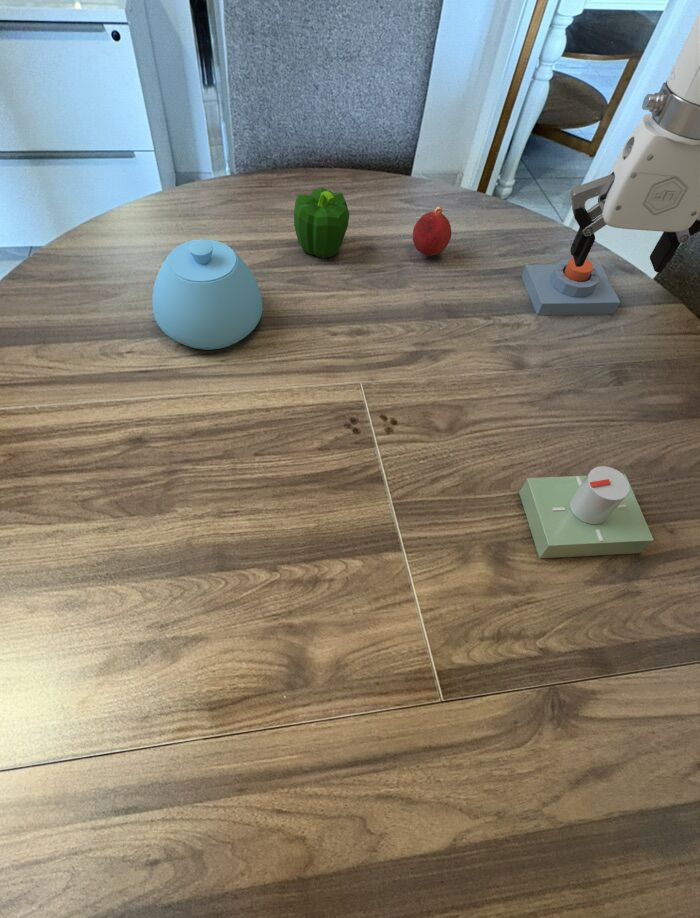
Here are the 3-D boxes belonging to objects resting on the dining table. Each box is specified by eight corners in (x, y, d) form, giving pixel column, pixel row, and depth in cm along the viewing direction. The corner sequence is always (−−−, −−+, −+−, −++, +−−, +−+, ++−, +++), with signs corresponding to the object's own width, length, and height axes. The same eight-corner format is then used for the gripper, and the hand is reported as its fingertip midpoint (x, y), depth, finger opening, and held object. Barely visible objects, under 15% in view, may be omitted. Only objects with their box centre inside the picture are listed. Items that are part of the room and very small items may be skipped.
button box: (594, 275, 97) (605, 253, 93) (613, 314, 92) (626, 292, 89) (521, 276, 96) (529, 254, 92) (536, 315, 91) (546, 293, 88)
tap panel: (614, 488, 75) (626, 472, 72) (640, 553, 70) (654, 539, 67) (518, 492, 74) (527, 476, 71) (539, 558, 69) (549, 545, 66)
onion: (427, 271, 95) (438, 224, 88) (401, 253, 97) (410, 205, 91) (452, 257, 97) (465, 210, 91) (426, 239, 100) (436, 192, 93)
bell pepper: (291, 233, 99) (291, 171, 90) (341, 232, 100) (347, 170, 91) (295, 266, 94) (297, 204, 86) (348, 264, 95) (355, 203, 87)
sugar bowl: (282, 331, 86) (282, 259, 77) (187, 372, 81) (174, 300, 72) (229, 273, 93) (223, 199, 83) (137, 307, 88) (119, 233, 78)
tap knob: (598, 489, 71) (619, 461, 66) (615, 521, 68) (638, 495, 64) (563, 494, 70) (582, 467, 65) (579, 527, 68) (600, 501, 63)
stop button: (584, 267, 92) (588, 256, 90) (591, 282, 90) (596, 272, 88) (560, 267, 92) (565, 257, 90) (568, 282, 90) (572, 272, 88)
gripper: (616, 123, 58) (550, 277, 73) (795, 137, 59) (694, 287, 73) (600, 86, 62) (541, 239, 77) (768, 99, 63) (677, 249, 77)
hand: (615, 262), depth 75 cm, fingers open, 9 cm apart
